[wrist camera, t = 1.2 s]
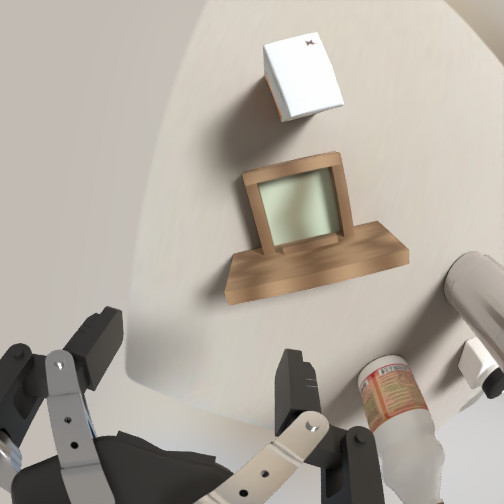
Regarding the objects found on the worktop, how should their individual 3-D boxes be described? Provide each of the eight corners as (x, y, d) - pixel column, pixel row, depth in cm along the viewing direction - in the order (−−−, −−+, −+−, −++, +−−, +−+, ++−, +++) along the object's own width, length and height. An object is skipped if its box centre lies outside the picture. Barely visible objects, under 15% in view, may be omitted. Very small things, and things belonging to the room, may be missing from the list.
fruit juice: (394, 344, 40) (456, 498, 15) (413, 369, 43) (465, 500, 17) (346, 375, 43) (379, 530, 17) (370, 396, 45) (403, 528, 20)
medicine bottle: (456, 366, 43) (481, 408, 32) (465, 340, 40) (495, 383, 29) (482, 355, 42) (507, 394, 31) (491, 329, 39) (521, 368, 28)
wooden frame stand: (365, 145, 29) (399, 151, 21) (378, 232, 33) (409, 263, 25) (211, 180, 32) (192, 198, 24) (237, 264, 36) (228, 305, 28)
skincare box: (262, 75, 27) (260, 42, 16) (300, 64, 26) (318, 29, 15) (280, 124, 29) (289, 119, 18) (318, 114, 28) (347, 104, 17)
